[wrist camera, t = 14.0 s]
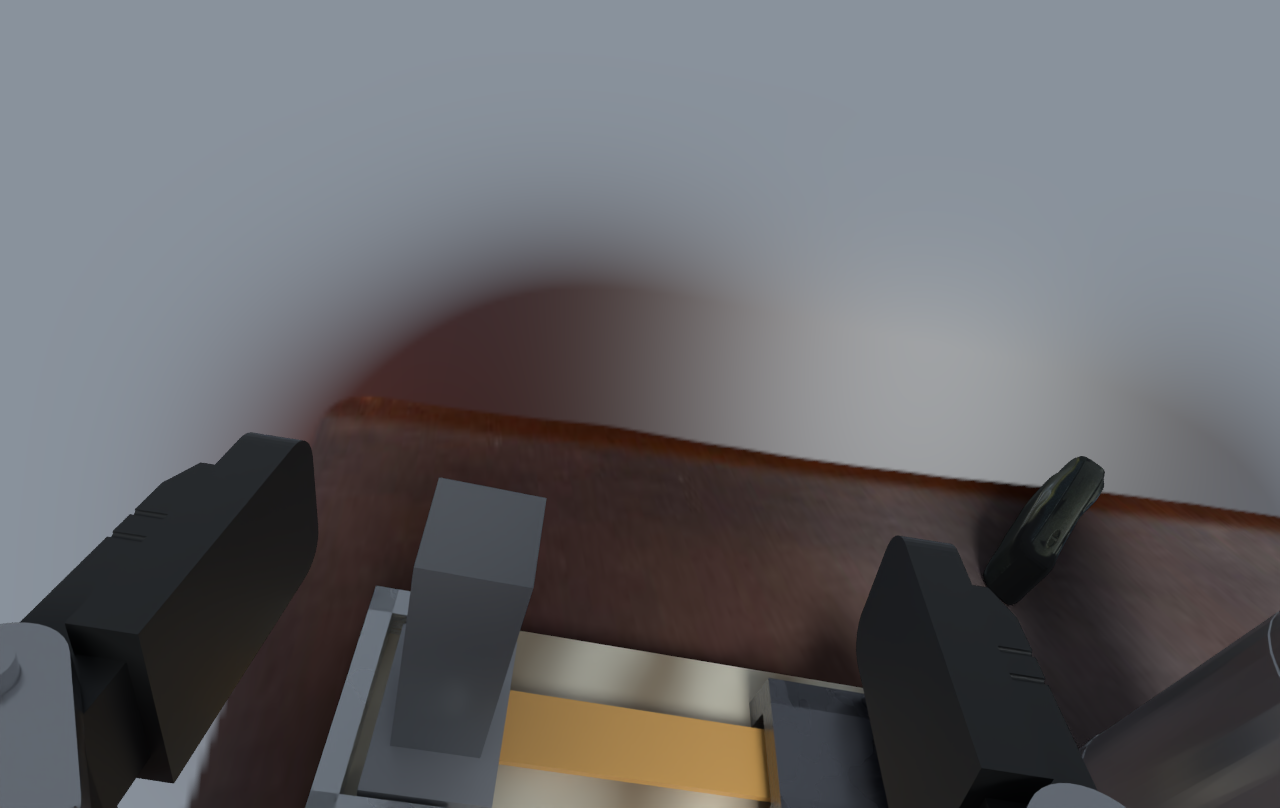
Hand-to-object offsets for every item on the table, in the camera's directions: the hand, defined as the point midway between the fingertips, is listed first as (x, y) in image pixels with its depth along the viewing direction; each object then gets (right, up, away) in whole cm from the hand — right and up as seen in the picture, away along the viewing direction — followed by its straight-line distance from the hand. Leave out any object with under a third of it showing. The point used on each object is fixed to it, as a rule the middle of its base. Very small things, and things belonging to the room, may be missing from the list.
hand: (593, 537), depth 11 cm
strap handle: (-2, -13, +23) cm, 26 cm away
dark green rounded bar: (+27, -8, +44) cm, 52 cm away
